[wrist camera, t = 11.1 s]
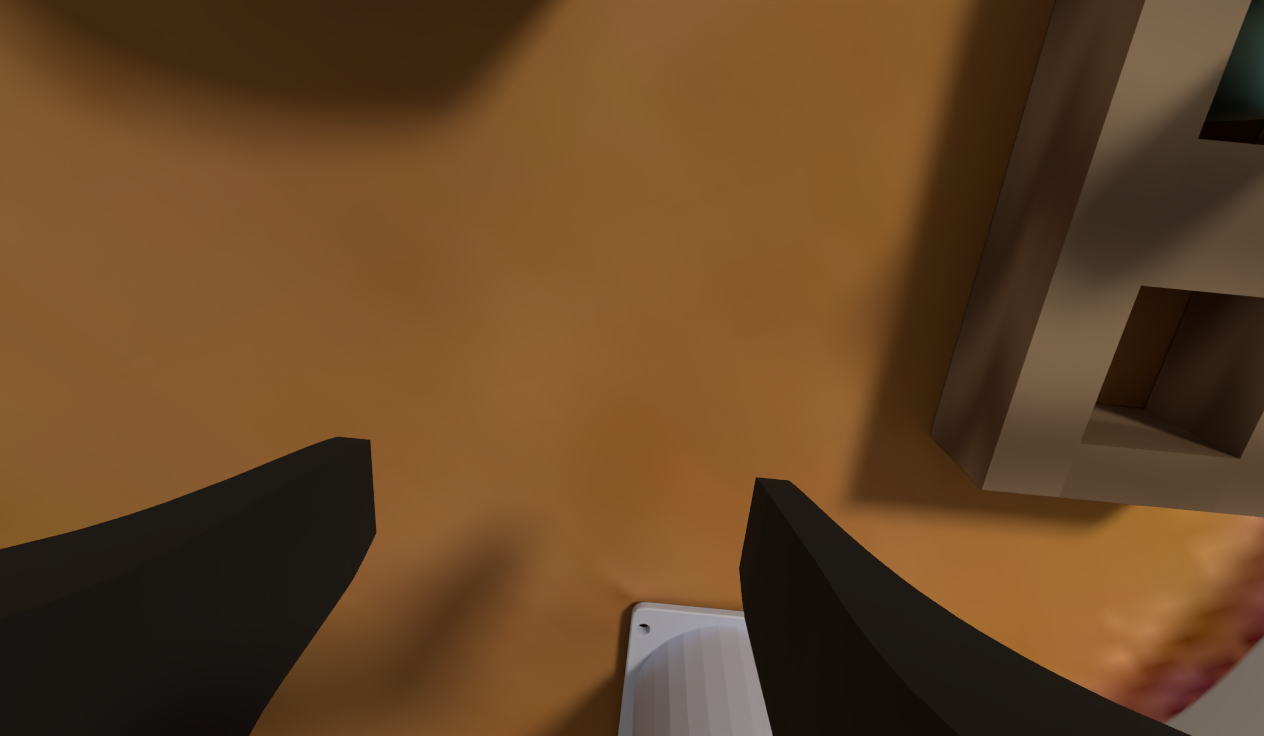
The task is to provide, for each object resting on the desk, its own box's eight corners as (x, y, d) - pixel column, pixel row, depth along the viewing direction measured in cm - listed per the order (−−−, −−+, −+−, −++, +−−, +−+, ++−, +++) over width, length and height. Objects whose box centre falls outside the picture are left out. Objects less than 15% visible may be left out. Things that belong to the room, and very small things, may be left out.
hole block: (1190, 461, 21) (1290, 519, 18) (929, 435, 21) (981, 489, 18) (1448, -97, 15) (1665, -164, 12) (1094, -131, 15) (1214, -208, 12)
